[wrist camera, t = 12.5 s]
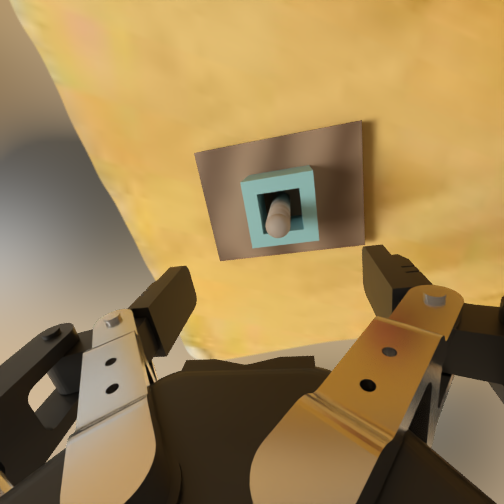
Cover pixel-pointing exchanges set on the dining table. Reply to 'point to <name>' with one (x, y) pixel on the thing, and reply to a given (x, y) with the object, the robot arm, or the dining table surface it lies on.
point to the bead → (300, 225)
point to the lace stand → (287, 201)
